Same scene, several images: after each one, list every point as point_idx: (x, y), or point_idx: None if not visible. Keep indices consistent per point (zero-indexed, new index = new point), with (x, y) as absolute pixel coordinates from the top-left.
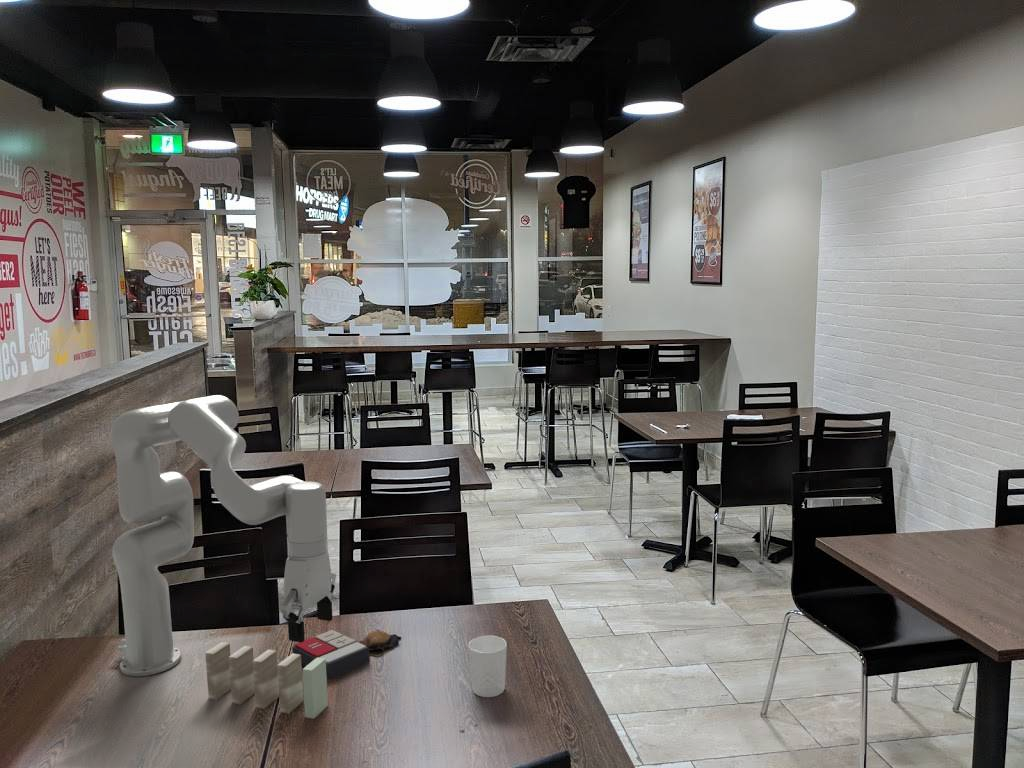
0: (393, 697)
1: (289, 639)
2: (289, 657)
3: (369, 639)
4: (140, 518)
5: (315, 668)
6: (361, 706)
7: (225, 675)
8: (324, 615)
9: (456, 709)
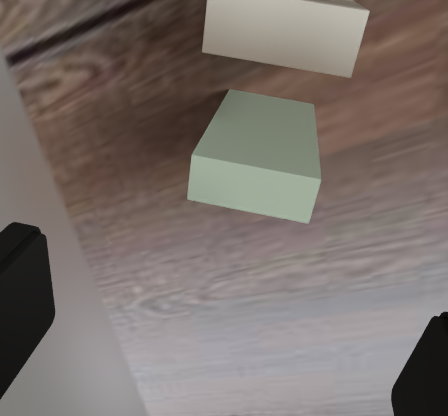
0: (360, 295)
1: (14, 226)
2: (311, 18)
3: None
4: None
5: (220, 203)
6: (308, 231)
7: None
8: (416, 399)
9: (310, 409)
